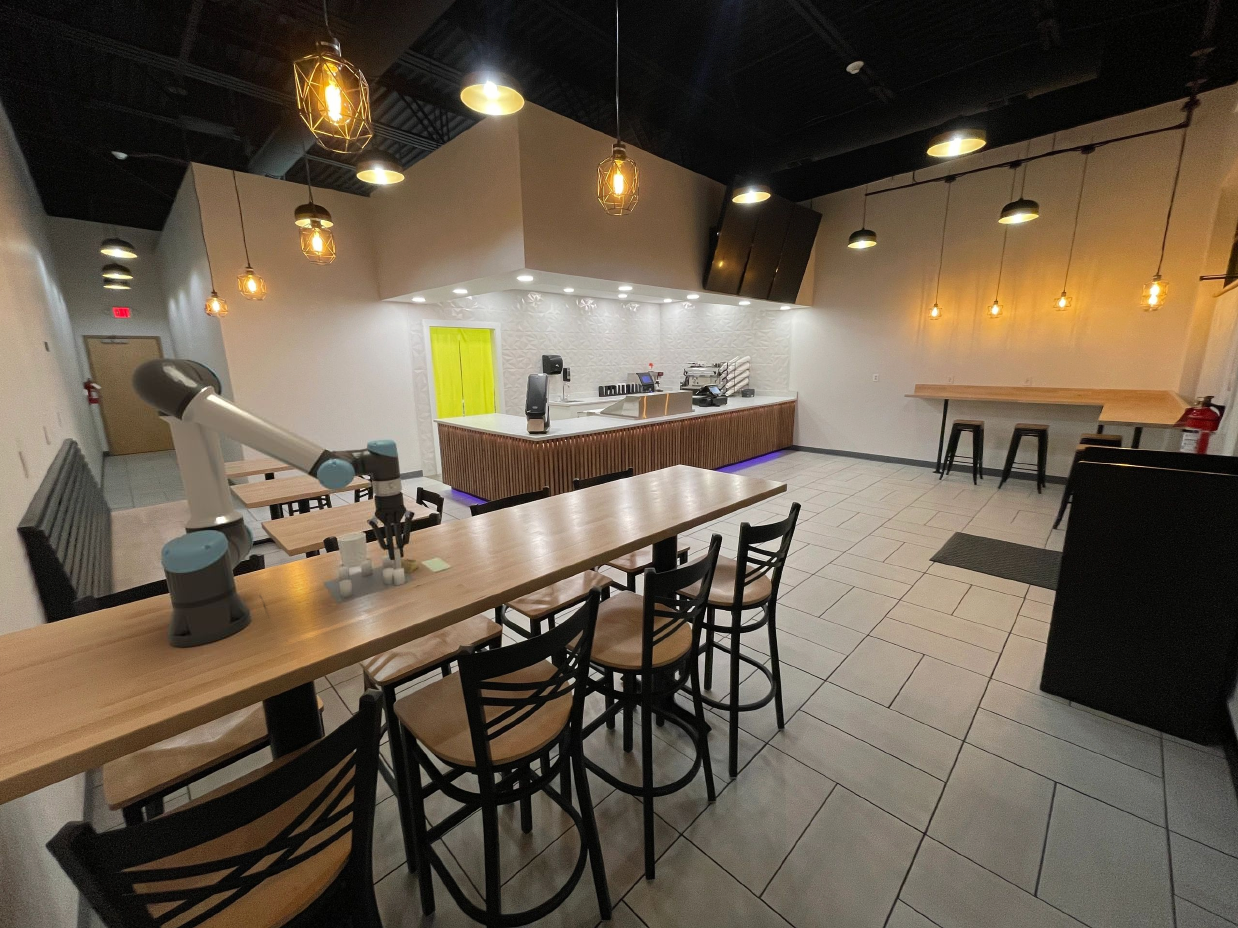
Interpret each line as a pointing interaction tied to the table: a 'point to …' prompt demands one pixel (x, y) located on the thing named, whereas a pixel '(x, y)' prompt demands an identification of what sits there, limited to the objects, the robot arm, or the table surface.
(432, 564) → the mat
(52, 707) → the table surface
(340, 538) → the white cup
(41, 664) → the table surface
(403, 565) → the nut
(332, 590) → the spacer board
